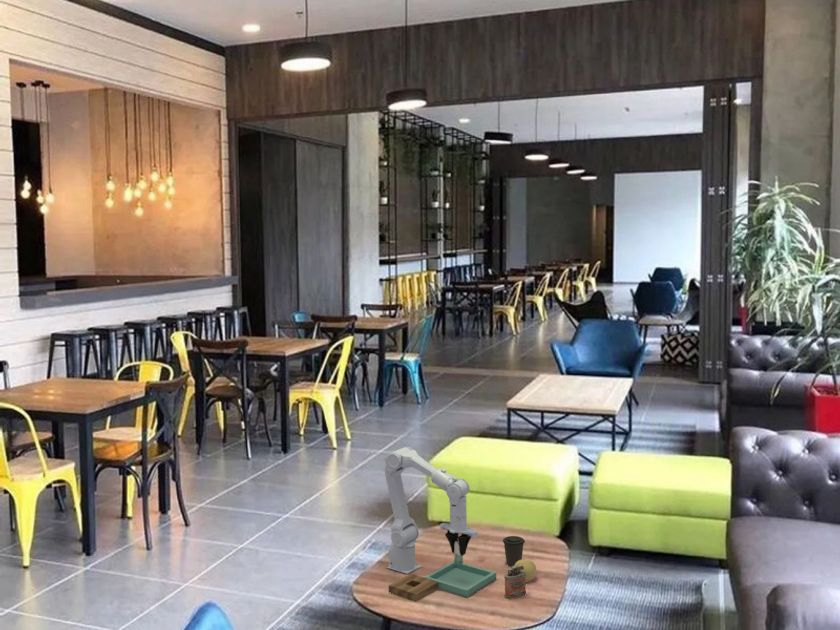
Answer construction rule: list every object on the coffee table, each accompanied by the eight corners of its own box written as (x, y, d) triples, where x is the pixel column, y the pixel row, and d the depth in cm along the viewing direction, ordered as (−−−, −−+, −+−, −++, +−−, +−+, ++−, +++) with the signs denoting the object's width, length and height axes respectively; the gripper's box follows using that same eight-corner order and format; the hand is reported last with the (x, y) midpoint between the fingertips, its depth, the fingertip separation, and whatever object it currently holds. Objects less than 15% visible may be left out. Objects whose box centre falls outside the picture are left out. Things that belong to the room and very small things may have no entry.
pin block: (388, 592, 278) (388, 585, 278) (410, 580, 288) (410, 573, 287) (416, 601, 271) (416, 594, 271) (438, 588, 280) (438, 581, 280)
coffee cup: (500, 567, 298) (499, 540, 297) (506, 558, 305) (506, 532, 304) (521, 570, 295) (521, 543, 294) (527, 561, 302) (527, 535, 301)
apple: (537, 584, 282) (525, 566, 280) (517, 589, 286) (506, 571, 285) (542, 569, 288) (531, 552, 287) (523, 574, 292) (512, 557, 291)
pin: (452, 563, 284) (452, 540, 284) (458, 560, 286) (457, 538, 286) (459, 565, 282) (458, 543, 281) (464, 562, 284) (464, 540, 284)
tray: (424, 584, 284) (424, 577, 284) (454, 567, 298) (454, 560, 298) (467, 597, 273) (467, 590, 273) (496, 579, 287) (496, 572, 287)
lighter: (508, 600, 271) (507, 570, 270) (502, 596, 274) (502, 567, 273) (528, 594, 274) (528, 566, 273) (522, 591, 277) (522, 562, 276)
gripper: (434, 514, 284) (435, 552, 286) (468, 522, 275) (469, 561, 277) (446, 508, 290) (447, 546, 291) (480, 516, 281) (481, 555, 282)
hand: (458, 553), depth 284 cm, fingers closed on pin, 3 cm apart
